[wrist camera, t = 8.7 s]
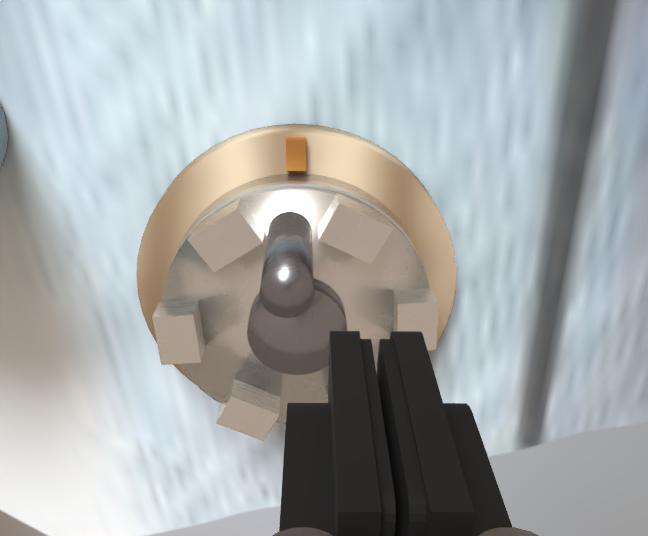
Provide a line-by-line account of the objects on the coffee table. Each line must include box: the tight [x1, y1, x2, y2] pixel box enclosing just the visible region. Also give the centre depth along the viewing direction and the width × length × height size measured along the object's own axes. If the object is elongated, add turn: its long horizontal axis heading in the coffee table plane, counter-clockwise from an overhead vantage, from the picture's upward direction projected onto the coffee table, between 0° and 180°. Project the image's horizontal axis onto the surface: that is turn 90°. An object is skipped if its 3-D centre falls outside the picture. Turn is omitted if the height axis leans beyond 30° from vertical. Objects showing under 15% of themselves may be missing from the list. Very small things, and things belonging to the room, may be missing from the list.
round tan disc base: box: [137, 124, 456, 383], centre depth 34 cm, size 18×18×3 cm
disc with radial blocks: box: [152, 173, 439, 441], centre depth 29 cm, size 14×14×10 cm
